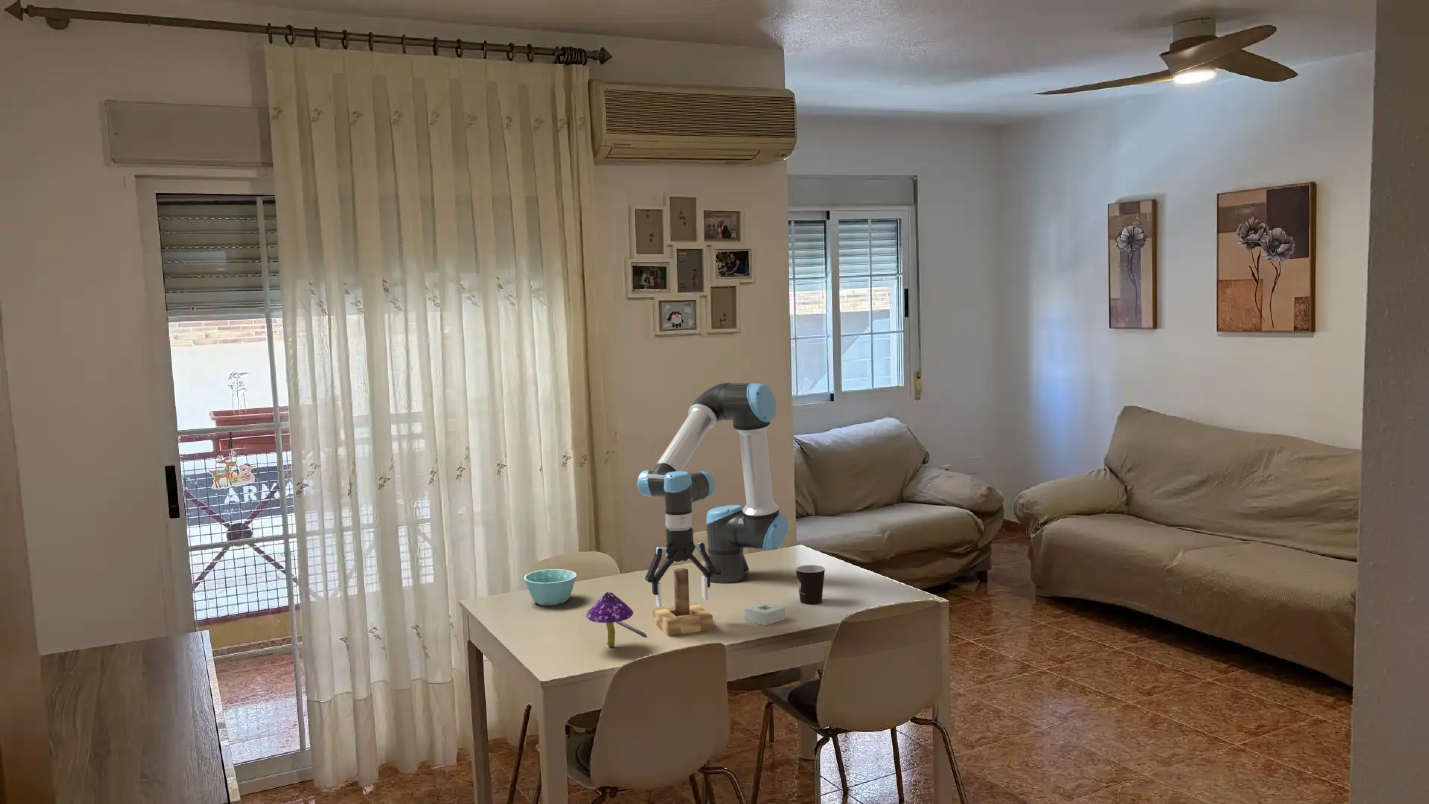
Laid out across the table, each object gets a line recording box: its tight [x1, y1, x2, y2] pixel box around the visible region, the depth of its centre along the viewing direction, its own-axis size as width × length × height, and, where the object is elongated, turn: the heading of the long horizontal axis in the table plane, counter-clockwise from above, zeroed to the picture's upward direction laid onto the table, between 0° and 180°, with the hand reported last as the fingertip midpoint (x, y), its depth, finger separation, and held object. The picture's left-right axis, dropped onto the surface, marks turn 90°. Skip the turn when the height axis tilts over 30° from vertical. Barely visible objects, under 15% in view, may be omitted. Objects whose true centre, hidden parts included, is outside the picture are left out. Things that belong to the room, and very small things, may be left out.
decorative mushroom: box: [585, 591, 634, 648], centre depth 282 cm, size 12×12×15 cm
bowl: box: [523, 568, 578, 607], centre depth 326 cm, size 16×16×8 cm
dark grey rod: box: [616, 621, 647, 637], centre depth 297 cm, size 17×1×1 cm, turn 33°
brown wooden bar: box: [673, 567, 690, 616], centre depth 298 cm, size 4×4×16 cm
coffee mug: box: [795, 564, 826, 606], centre depth 319 cm, size 12×9×10 cm
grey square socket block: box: [744, 601, 786, 627], centre depth 302 cm, size 8×8×3 cm
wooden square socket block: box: [652, 602, 714, 637], centre depth 298 cm, size 13×13×4 cm
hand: (682, 602), depth 298 cm, fingers open, 13 cm apart
